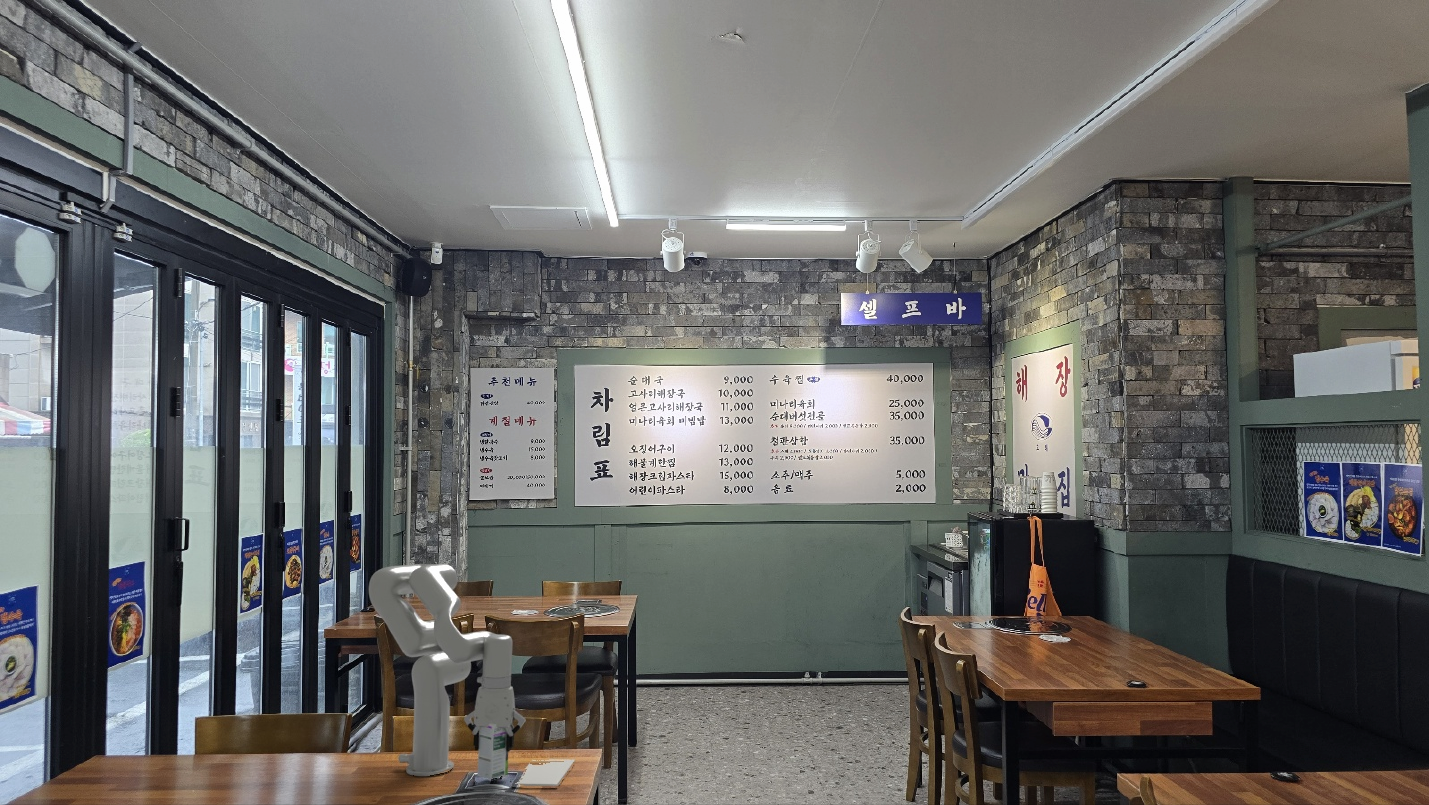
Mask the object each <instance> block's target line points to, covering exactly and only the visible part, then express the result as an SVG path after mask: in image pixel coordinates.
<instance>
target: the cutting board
mask: <svg viewBox="0 0 1429 805" xmlns="http://www.w3.org/2000/svg"><path fill="white" fill-rule="evenodd" d="M548 759H549V760H545V761H564V762H550V763H546V764H545V763H543V765H532V764H530V763H528V765H526V767H525V768H524V769H527V770H526V772H525V775H524V776H522V777H521V778H523V779H522V780H520V782H517V783H515V784H520V785H524V786H558V785H559V783H560V782H561V780H562V778H564V776H565V774H566V773H567V771H568V770H569V769H570V767H571V765H572V764H573V762H574V761H575V762H576V759H568V758H567V759H565V758H561V759H560V758H559V759H558V758H557V759H555V758H554V759H553V758H548ZM531 761H536V760H533V759H531ZM537 761H538V760H537ZM539 761H540V760H539ZM541 761H544V760H541ZM539 764H541V763H539Z"/></svg>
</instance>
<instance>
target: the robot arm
mask: <svg viewBox="0 0 1429 805" xmlns="http://www.w3.org/2000/svg"><path fill="white" fill-rule="evenodd" d="M458 580H459V578H458V573H457V572H456V570H455V569H454V568H453V566H451V565H449V564H446V563H440V564H439V563H437V564H436V563H433V564H432V563H427V564H425V563H424V564H423V563H416V564H415V563H414V564H413V563H412V564H404V565H391V566H386V567H382V568H381V569H378V570H377V571H375V572H374V573H373V575H371V577H370V580H369V583H368V595H369V600H370V603H371V605H372V606H373V608H374V610H375V611H376V613H377V614H378V615H379V616H380V618H382V620H383V621H384V623H385V624H386V626H387V628H388V630H389V631H390V633H391V635H392V637H393V638H394V640H395V642H396V643H397V645H398V647H399V648H400V650H401V651H402V653H403V654H404V655H406V657H409V658H417V657H419V658H418V659H417V660H416V661H415V662H414V663H413V664H412V669H411V681H412V686H413V695H414V697H413V698H414V699H413V700H414V703H413V713H414V714H413V733H412V734H413V736H412V737H413V739H412V740H413V741H412V743H413V744H412V752H410V754H408V753H400V754H398V762H399V763H401V764H408V765H407V766H406V768H405V770H406V771H405V772H406V773H407V774H408V775H410V776H413V775H414V777H431V776H430V775H434V774H438V773H441V772H444V771H446V770H448V769H452V768H453V767H454V766H455V764H454V762H453V761H451V760H449V748H450V747H449V746H450V745H449V744H450V717H451V716H450V714H451V708H450V707H451V700H450V698H449V694H448V693H447V690H446V687H445V686H448V685H452V684H456V683H459V682H462V681H465V679H466V678H468V676H469V675H470V672H471V670H472V663H471V662H475V661H479V660H482V675H481V676H479V677H477V679H476V682H477V683H479V684H481V686H480V687H478V690H477V693H476V698H475V699H476V700H475V704H474V710H473V711H471V712H470V713H469V714H467V715H465V716H464V717H463V721H464V723H465V724H466V726H467V728H468V729H469V730H470V732H472V735H473V747H474V751H478V750H479V729H480V728H481V727H488V726H489V723H493V724H496V727H497V728H505V729H506V731H507V732H508V736H507V739H506V751H507V752H508V753H509V752H510V751H512V749H513V748H514V746H515V734H516V733H517V732H518V731H519V730H520V729H521V728H522V727H523V725H524V723H525V722H526V718H525V717H524V716H523V715H522V714H520V713H519V712H518V711H516V703H515V702H516V700H515V692H514V688H513V686H512V685H511V684H512V683H511V682H512V665H513V664H512V663H513V662H512V661H513V659H512V658H513V644H514V643H513V639H512V636H510V635H507V634H496V633H494V632H491V631H486V630H480V631H473V632H470V633H469V632H468V633H461V632H460V631H459V629H458V628H457V627H456V626H455V624H454V622H453V620H452V618H453V616H455V614H456V613H457V612H458V611H459V609H460V608H461V604H462V601H461V598H460V597H459V596H458V595H457V594H456V592H455V591H454V590H455V588H457V585H458ZM409 594H415V596H416V597H417V598H418V600H420V602H421V603H422V605H423V606H424V607H425V609H426V610H427V611H428V613H429V614H430V615H431V616H432V618H433V619H430V620H423V619H422V618H421V617H420V616H419V614H418V613H417V610H415V608H414V607H413V606H412V604H410V603H409V601H407V600H405V599H404V598H402V597H401V596H402V595H409ZM472 718H473V720H472ZM515 720H516V721H517V722H518V723H517V724H516V725H515V726H514V725H513V723H514V722H515ZM454 768H455V767H454ZM454 768H453V769H454ZM453 769H452V770H453ZM434 776H435V775H434Z"/></svg>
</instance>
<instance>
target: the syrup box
mask: <svg viewBox="0 0 1429 805" xmlns="http://www.w3.org/2000/svg"><path fill="white" fill-rule="evenodd" d="M507 736H508V732H507V731H506V729H505V728H497V727H496V724H493V723H489V726H488V727H481V728H480V729H479V749H478V750H477V751H478V756H477V757H478V758H477V777H478V776H482V777H484V778H488V779H493V778H497V779H499V778H498V777H501V776H504V777H506V776H505V775H507V776H508V774H509V773H508V770H509V752H507V751H506V739H507ZM501 778H502V777H501Z"/></svg>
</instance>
